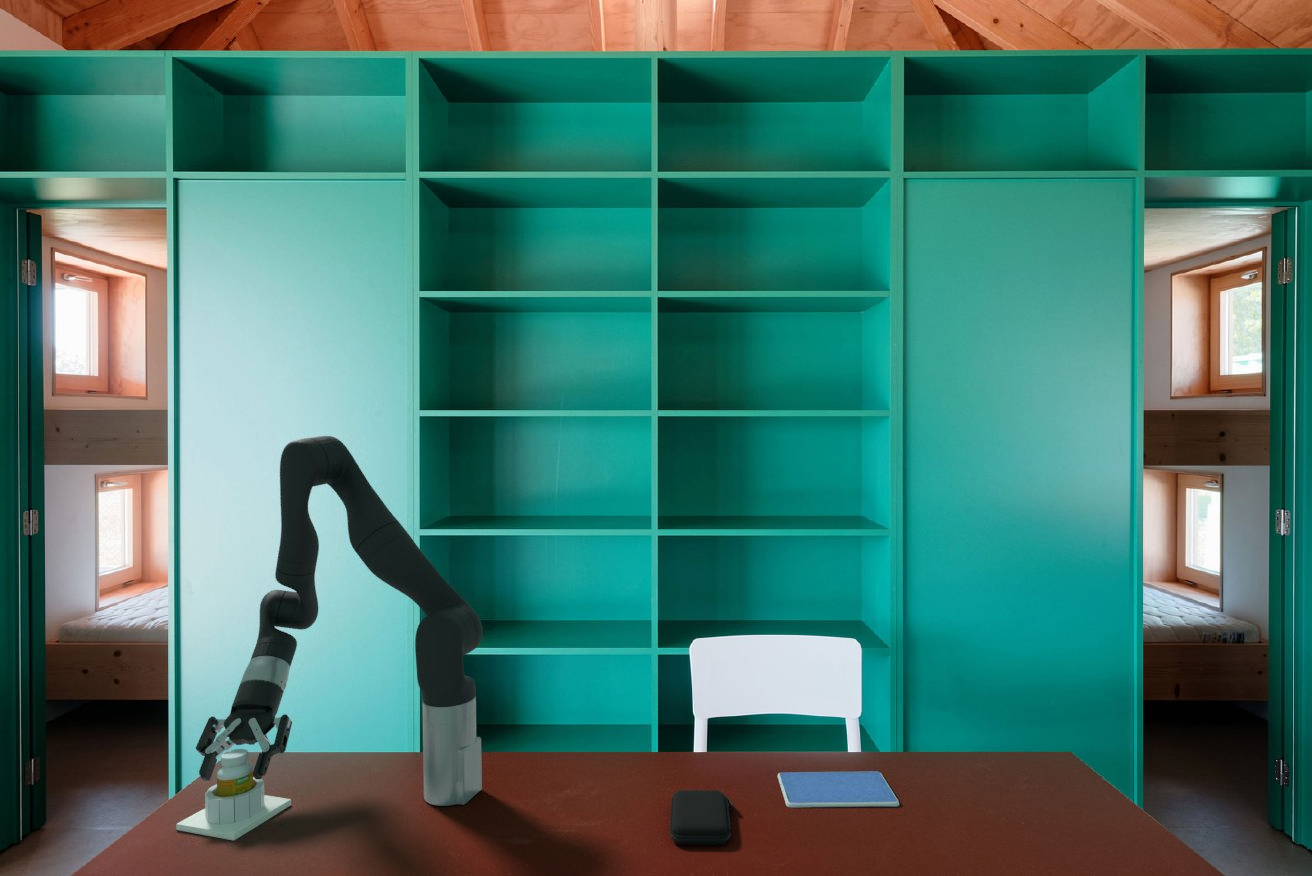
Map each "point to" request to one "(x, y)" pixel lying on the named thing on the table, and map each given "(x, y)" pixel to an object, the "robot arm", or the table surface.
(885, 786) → the tablet computer
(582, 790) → the table surface
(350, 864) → the table surface
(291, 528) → the robot arm
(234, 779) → the supplement bottle
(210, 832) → the sleeve holder
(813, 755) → the table surface
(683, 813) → the carrying case or bag
